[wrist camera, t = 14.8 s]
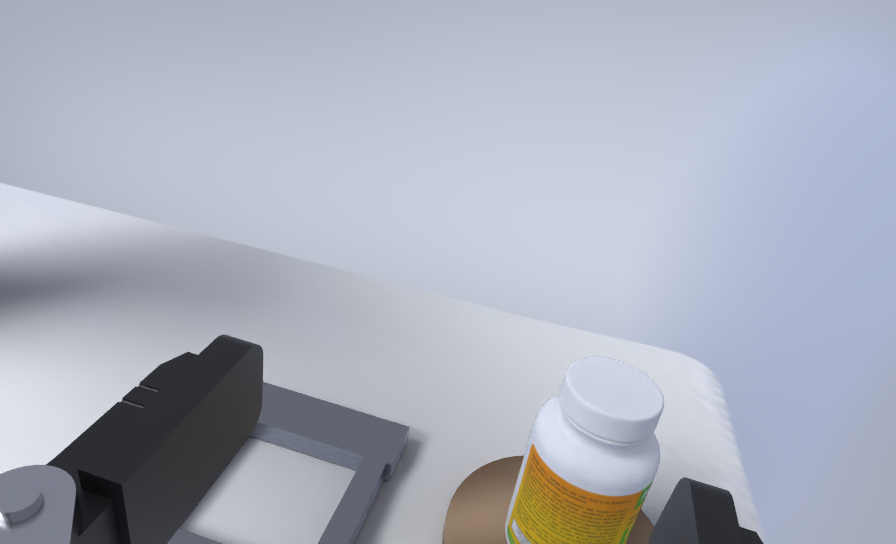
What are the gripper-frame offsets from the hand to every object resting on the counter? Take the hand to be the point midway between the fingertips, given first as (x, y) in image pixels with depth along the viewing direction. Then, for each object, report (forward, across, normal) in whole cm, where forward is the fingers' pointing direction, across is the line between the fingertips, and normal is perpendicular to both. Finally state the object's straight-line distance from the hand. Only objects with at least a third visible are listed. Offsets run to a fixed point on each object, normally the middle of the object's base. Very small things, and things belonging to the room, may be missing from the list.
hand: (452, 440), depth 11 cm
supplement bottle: (+12, -5, +16) cm, 21 cm away
